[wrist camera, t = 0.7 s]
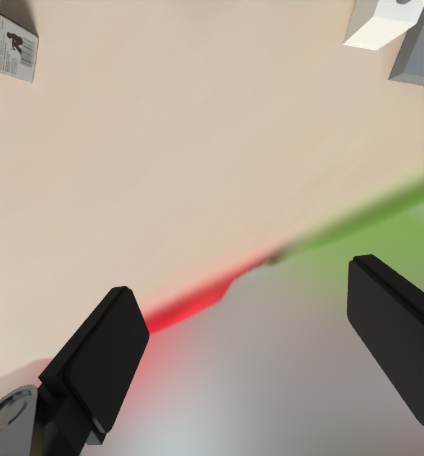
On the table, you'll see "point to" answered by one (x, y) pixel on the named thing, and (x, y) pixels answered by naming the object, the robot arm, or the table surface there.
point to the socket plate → (411, 56)
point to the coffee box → (17, 50)
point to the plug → (381, 21)
